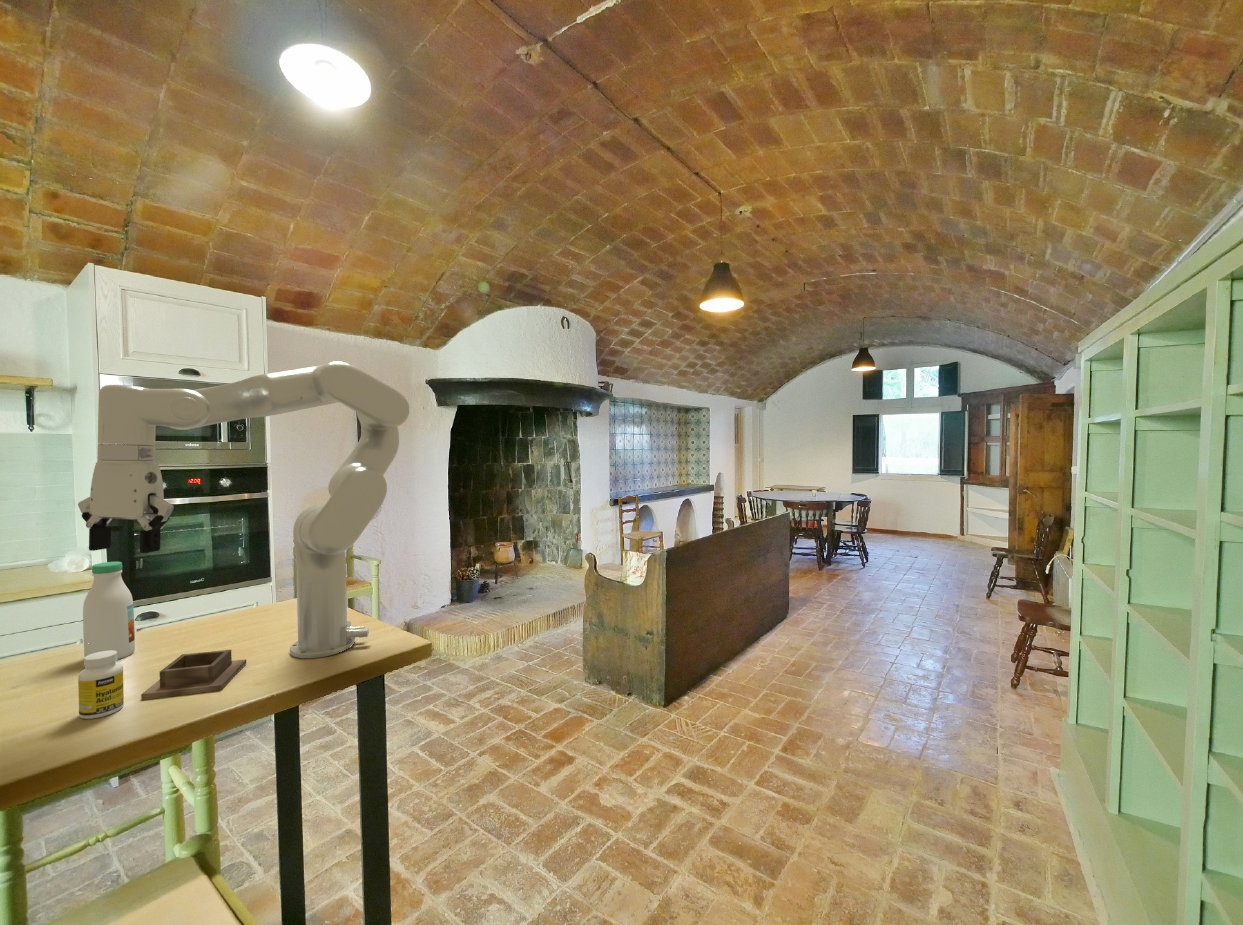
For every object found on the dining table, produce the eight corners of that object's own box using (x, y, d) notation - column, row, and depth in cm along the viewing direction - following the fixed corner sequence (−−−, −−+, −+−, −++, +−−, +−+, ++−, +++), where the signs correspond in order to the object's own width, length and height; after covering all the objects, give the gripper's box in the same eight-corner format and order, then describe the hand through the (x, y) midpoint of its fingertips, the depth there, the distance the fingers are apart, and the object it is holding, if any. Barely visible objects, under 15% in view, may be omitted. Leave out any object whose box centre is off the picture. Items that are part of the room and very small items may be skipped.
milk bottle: (121, 661, 109) (118, 566, 108) (74, 666, 107) (71, 568, 106) (143, 648, 116) (140, 558, 116) (100, 651, 114) (96, 560, 113)
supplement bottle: (95, 721, 86) (93, 662, 85) (70, 718, 87) (68, 659, 86) (132, 705, 91) (130, 649, 91) (108, 702, 92) (106, 647, 92)
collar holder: (246, 664, 108) (245, 645, 108) (221, 690, 96) (221, 669, 96) (175, 671, 104) (175, 651, 104) (141, 699, 93) (140, 677, 93)
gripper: (190, 456, 97) (188, 549, 97) (104, 453, 98) (102, 545, 98) (151, 456, 89) (148, 556, 90) (58, 453, 91) (56, 552, 91)
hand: (124, 550), depth 94 cm, fingers open, 9 cm apart
